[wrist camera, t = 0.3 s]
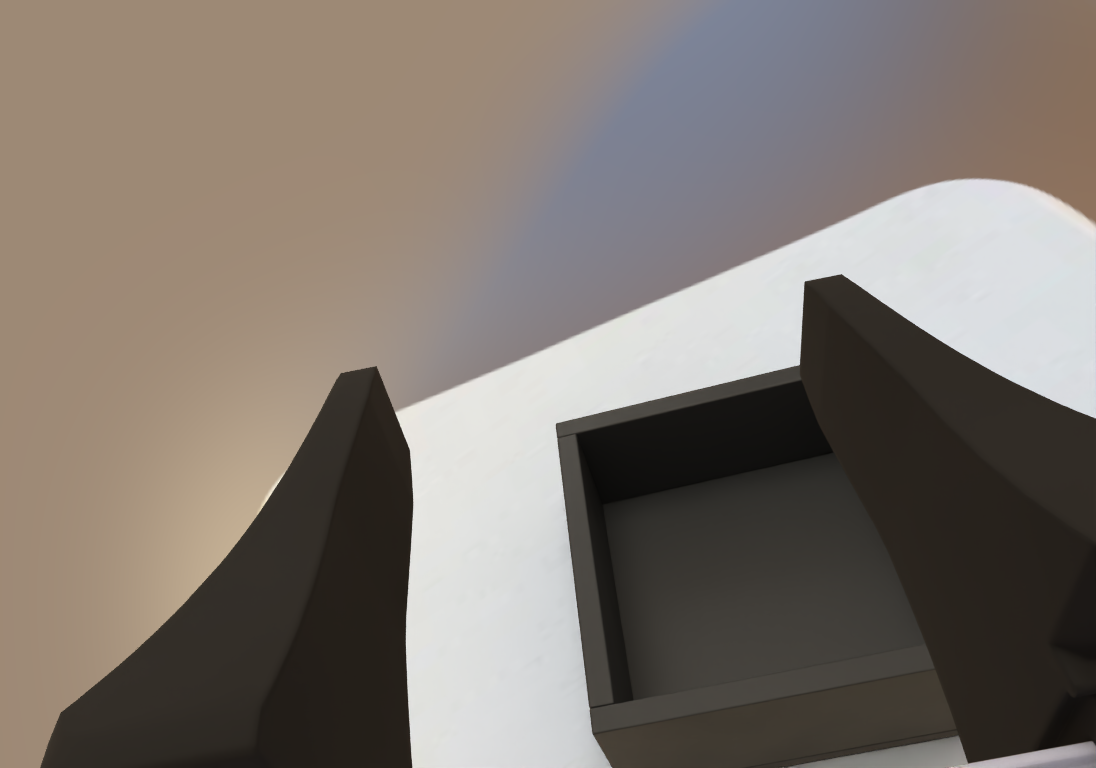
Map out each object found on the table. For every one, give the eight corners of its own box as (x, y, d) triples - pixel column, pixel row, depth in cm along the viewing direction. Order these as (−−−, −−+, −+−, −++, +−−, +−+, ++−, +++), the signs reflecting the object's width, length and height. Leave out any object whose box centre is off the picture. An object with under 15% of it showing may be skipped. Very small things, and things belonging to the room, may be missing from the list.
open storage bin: (1004, 727, 27) (1029, 651, 23) (627, 795, 29) (592, 734, 25) (868, 438, 36) (870, 347, 32) (586, 502, 38) (555, 423, 34)
